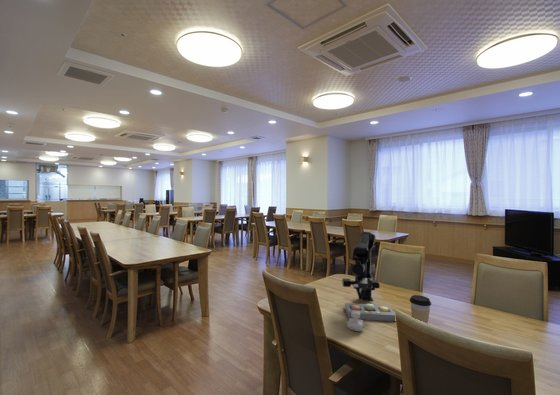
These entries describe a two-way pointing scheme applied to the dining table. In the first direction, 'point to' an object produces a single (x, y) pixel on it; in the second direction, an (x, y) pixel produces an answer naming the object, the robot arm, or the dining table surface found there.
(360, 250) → the robot arm
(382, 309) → the button mustard
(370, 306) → the button sage
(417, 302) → the coffee cup
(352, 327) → the stamp
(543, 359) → the dining table surface
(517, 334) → the dining table surface
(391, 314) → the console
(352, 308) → the button terracotta
